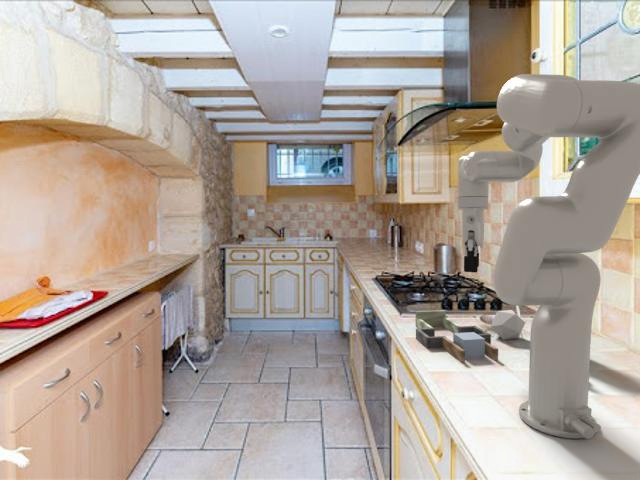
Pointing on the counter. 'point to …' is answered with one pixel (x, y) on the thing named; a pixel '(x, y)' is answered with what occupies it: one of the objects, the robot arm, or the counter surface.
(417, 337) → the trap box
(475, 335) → the block
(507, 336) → the grey faceted solid
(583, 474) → the counter surface
